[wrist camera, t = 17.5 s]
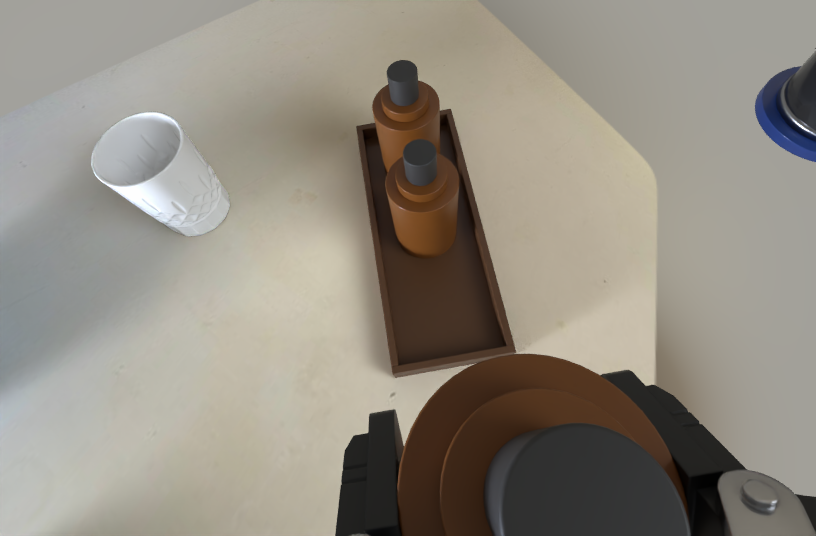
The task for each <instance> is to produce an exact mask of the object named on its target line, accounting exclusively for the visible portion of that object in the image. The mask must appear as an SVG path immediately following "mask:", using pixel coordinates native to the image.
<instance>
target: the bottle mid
mask: <svg viewBox="0 0 816 536" xmlns="http://www.w3.org/2000/svg"><path fill="white" fill-rule="evenodd" d="M385 186H386V191H387V196H388V200H389V205H390V209H391V214H392V218H393V223H394V227H395V232H396V236H397V240H398V242H399V244H400V246H401V247H402V249H403V250H404V251H406V252H407V253H408V254H410V255H412V256H414V257H417V258H424V259H426V258H434V257H437V256H439V255H441V254H443V253H445V252H446V251H447V250H448V249H449V248H450V247H451V246H452V244H453V243H454V240H455V237H456V229H457V211H458V193H459V176H458V172H457V170H456V168H455V166H454V165H453V164H452V162H451V161H450V160H448V159H447V158H446V157H444V156H442V155H440V154H438V153H437V151H436V148H435V146H434V145H433V144H432V143H431V142H430V141H428V140H424V139H417V140H413V141H411V142H409V143H408V144H407V145H406V146H405V148H404V150H403V157H401V158H400V159H398V160H397V161H396V162H395V163H394V164H393V165H392V166H391V168H390V169H389V171H388V173H387V176H386V181H385Z"/></svg>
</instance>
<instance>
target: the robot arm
mask: <svg viewBox="0 0 816 536" xmlns="http://www.w3.org/2000/svg"><path fill="white" fill-rule="evenodd" d="M815 49H816V48H815ZM776 104H777V108H778V111H779V113H780V115H781V117H782V118H783V119H784V121H785V122H786V123H787V124H788V125H789V126H790V127H791V128H792V129H794V130H795V131H796V132H798V133H799V134H801V135H803V136H804V137H806V138H809V139H811V140H813V141H816V51H815V53H814V54H813V55H812V56H811V57H810V58H809V59H808V60H807V61H806V62H805V63H804V64H803V65H802V66H801V67H800V68H799V70H798V71H797V72H796V73H795V74H793V75H792V76H791V77H790V78H789V79H788V80H787V81H786V82H785V83H784V84H783V85H782V86H781V88H780V89H779V91H778V93H777V97H776ZM601 377H603V378H604V379H606V380H608V381H609V382H611V383H612V384H614V385H615V386H616V387H617V388H618V389H620V390H621V391H622V392H623V393H624V394H626V395H627V396H628V397H629V398H630V399H631V400H632V401H633V402H634V403H635V404H636V405H637V406H638V407H639V408H640V409H641V410H642V411H643V413H644V414H645V415H646V416H647V418H648V419H649V420H650V422H651V423H652V424H653V425H654V427H655V428H656V430H657V431H658V433H659V434H660V436H661V438H662V439H663V441H664V442H665V444H666V446H667V448H668V450H669V452H670V454H671V456H672V458H673V460H674V462H675V464H676V467H677V470H678V473H679V476H680V478H681V481H682V484H683V488H684V492H685V497H686V501H687V505H688V513H689V522H690V531H691V536H816V497H811V496H803V495H797V494H794V493H793V492H792V491H791V490H790V489H789V488H788V487H786V486H785V485H784V484H782V483H780V482H779V481H777V480H776V479H773V478H772V477H769V476H767V475H764V474H762V473H758V472H755V471H749V470H747V469H745V467H744V466H743V465H742V464H740V463H739V461H738V460H737V459H736V458H735V457H734V456H733V455H732V454H731V453H730V452H729V451H728V450H727V449H726V448H725V447H724V446H723V445H722V444H721V443H720V442H719V441H718V440H717V439H716V438H715V437H714V436H713V435H712V434H711V433H710V432H709V431H708V430H707V429H706V428H705V427H704V426H703V425H702V424H699V421H698V420H697V419H696V418H695V417H694V416H693V415H692V414H691V413H690V412H689V413H688V411H687V409H686V408H685V407H684V406H683V405H682V404H681V403H680V402H679V401H678V400H677V399H676V398H675V397H674V396H673V395H671V394H670V393H668V392H666V391H664V390H663V389H661V388H659V387H657V386H655V385H650V386H645V385H644V384H643V383H642V382H641V381H640V380H639V378H638V377H637V376H636V375H635V374H634V373H633V372H632V371H630V370H624V371H618V372H612V373H606V374H602V375H601ZM403 450H404V446H403V441H402V437H401V432H400V428H399V423H398V419H397V414H396V411H395V409H394V410H388V411H382V412H376V413H371V414H370V415H369V432H368V433H366V434H361V435H355V436H353V438H352V439H351V441H350V443H349V445H348V446H347V448H346V450H345V454H344V463H343V472H342V481H341V482H342V485H341V490H340V499H339V508H338V517H337V525H336V534H335V536H402V534H401V528H400V521H399V512H398V504H397V483H398V475H399V467H400V462H401V458H402V454H403Z"/></svg>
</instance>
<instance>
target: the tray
mask: <svg viewBox="0 0 816 536" xmlns="http://www.w3.org/2000/svg"><path fill="white" fill-rule="evenodd" d="M356 128H357V135H358V141H359V148H360V155H361V162H362V169H363V176H364V182H365V189H366V196H367V203H368V210H369V216H370V223H371V230H372V237H373V244H374V250H375V257H376V264H377V271H378V278H379V284H380V291H381V298H382V305H383V312H384V318H385V325H386V332H387V339H388V346H389V352H390V359H391V366H392V373H393V375H394V376H395V378H397V377H403V376H408V375H414V374H419V373H425V372H430V371H436V370H441V369H447V368H453V367H458V366H464V365H469V364H475V363H479V362H481V361H484V360H488V359H491V358H495V357H498V356H505V355H512V354H514V353H515V352H516V350H515V346H514V343H513V339H512V335H511V332H510V328H509V324H508V320H507V317H506V313H505V309H504V305H503V302H502V298H501V294H500V290H499V287H498V283H497V279H496V275H495V272H494V268H493V264H492V260H491V257H490V253H489V249H488V246H487V242H486V238H485V234H484V231H483V227H482V223H481V219H480V216H479V212H478V208H477V204H476V201H475V197H474V193H473V189H472V186H471V182H470V178H469V175H468V171H467V167H466V163H465V160H464V156H463V152H462V148H461V145H460V141H459V137H458V133H457V130H456V126H455V122H454V118H453V115H452V111H451V109H447V110H442V111H440V155H442V156H444V157H446V158H447V159H448V160H450V161H451V162H452V164H453V165H454V166H455V168H456V170H457V172H458V176H459V193H458V211H457V229H456V237H455V240H454V243H453V244H452V246H451V247H450V248H449V249H448V250H447V251H446V252H445V253H443V254H441V255H439V256H437V257H434V258H426V259H424V258H417V257H414V256H412V255H410V254H408V253H407V252H406V251H404V250H403V249H402V247H401V246H400V244H399V242H398V240H397V236H396V232H395V227H394V223H393V218H392V214H391V209H390V205H389V200H388V196H387V191H386V186H385V181H386V176H387V174H386V171H385V167H384V162H383V158H382V153H381V148H380V143H379V139H378V134H377V129H376V125H375V123H371V124H366V125H361V126H356Z"/></svg>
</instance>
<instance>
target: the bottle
mask: <svg viewBox="0 0 816 536" xmlns="http://www.w3.org/2000/svg"><path fill="white" fill-rule="evenodd" d="M397 504H398V512H399V521H400V528H401V534H402V536H691V531H690V522H689V513H688V505H687V501H686V497H685V492H684V488H683V484H682V481H681V478H680V476H679V473H678V470H677V467H676V464H675V462H674V460H673V458H672V456H671V454H670V452H669V450H668V448H667V446H666V444H665V442H664V441H663V439H662V438H661V436H660V434H659V433H658V431H657V430H656V428H655V427H654V425H653V424H652V423H651V422H650V420H649V419H648V418H647V416H646V415H645V414H644V413H643V411H642V410H641V409H640V408H639V407H638V406H637V405H636V404H635V403H634V402H633V401H632V400H631V399H630V398H629V397H628V396H627V395H626V394H624V393H623V392H622V391H621V390H620V389H618V388H617V387H616V386H615V385H614V384H612V383H611V382H609V381H608V380H606V379H604V378H603V377H601V376H600V375H598V374H597V373H595V372H593V371H591V370H589V369H587V368H585V367H583V366H581V365H578V364H575V363H572V362H570V361H567V360H564V359H560V358H556V357H551V356H546V355H537V354H512V355H505V356H498V357H495V358H491V359H488V360H484V361H481V362H479V363H477V364H475V365H472V366H470V367H468V368H466V369H464V370H463V371H461V372H460V373H458V374H456V375H455V376H453V377H452V378H451V379H450V380H448V381H447V382H446V383H445V384H444V385H442V386H441V387H440V388H439V389H438V390H437V391H436V392H435V393H434V395H433V396H432V397H431V398H430V399H429V400H428V402H427V403H426V404H425V406H424V407H423V409H422V410H421V411H420V413H419V415H418V417H417V418H416V420H415V422H414V424H413V426H412V428H411V430H410V433H409V435H408V438H407V441H406V443H405V446H404V450H403V454H402V458H401V462H400V467H399V475H398V483H397Z"/></svg>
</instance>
